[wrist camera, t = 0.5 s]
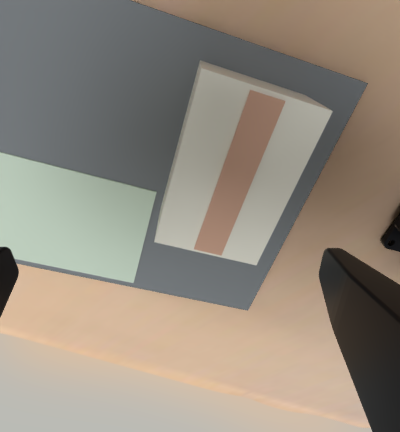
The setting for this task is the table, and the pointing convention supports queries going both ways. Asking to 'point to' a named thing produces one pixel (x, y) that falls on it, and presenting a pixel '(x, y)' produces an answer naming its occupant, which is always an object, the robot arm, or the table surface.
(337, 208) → the table surface
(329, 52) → the table surface
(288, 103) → the card deck
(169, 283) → the rubber mat
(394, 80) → the table surface
